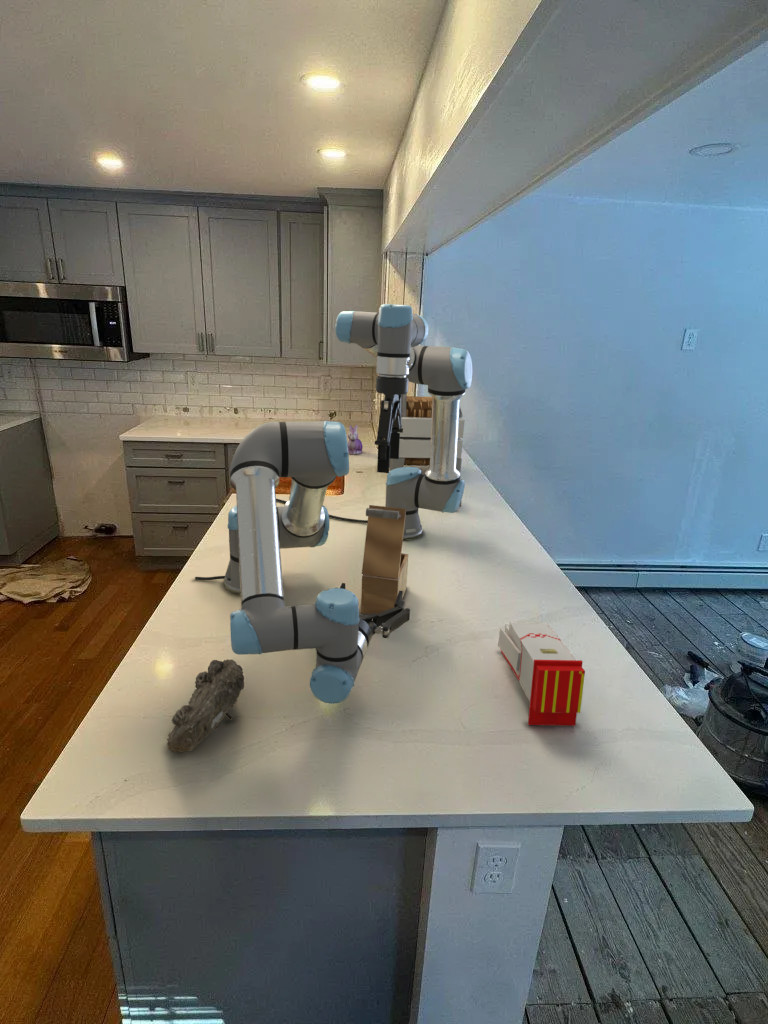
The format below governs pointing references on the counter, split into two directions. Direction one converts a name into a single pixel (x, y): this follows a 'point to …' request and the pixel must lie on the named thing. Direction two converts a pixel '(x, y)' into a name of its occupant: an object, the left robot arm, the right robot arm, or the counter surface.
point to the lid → (383, 541)
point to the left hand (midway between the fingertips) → (372, 591)
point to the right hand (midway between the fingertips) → (388, 465)
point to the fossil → (206, 705)
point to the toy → (544, 672)
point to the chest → (383, 590)
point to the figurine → (354, 441)
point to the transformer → (420, 433)
